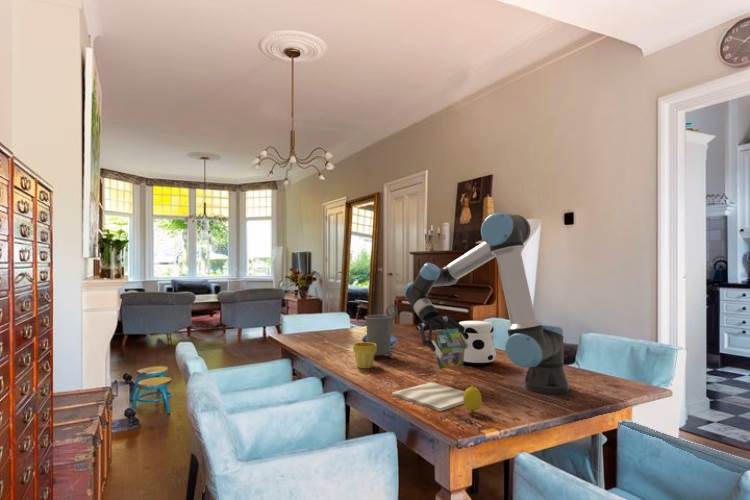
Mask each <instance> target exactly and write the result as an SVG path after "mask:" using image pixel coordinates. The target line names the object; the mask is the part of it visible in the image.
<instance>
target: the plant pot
mask: <svg viewBox="0 0 750 500" xmlns="http://www.w3.org/2000/svg"><path fill="white" fill-rule="evenodd" d="M352 350H353V353H354V356H355V362H356V366H357V368H360V369H371V368H372V367H373V365H374V364H373V363H374V359H375V356H376V355H375V353H376V350H377V345H376V344H375V343H369V342H367V341H366V342H365V341H364V342H355V343H353V345H352Z"/></svg>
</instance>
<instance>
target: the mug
mask: <svg viewBox="0 0 750 500" xmlns="http://www.w3.org/2000/svg"><path fill="white" fill-rule="evenodd" d="M391 307H393V308H394V311H395V312H394V311H392V313H391V314H389V308H391ZM385 313H386V314H369V315H365V316H364V317H363V318H364V320H365V322H366V342H369V343H375V344H376V345H377V350H376V353H375V355H374V356H381V355H382V356H383V355H386V356H389V358H391V359H392V360H394V356H393V353H392V352H391V342H392V341H391V338H392V337H391V330H392V329H391V328H392V324H393V322H394V320H395V318H396V317H397V314H398V307H397V305H396V304H389V305H387V307H386V308H385Z"/></svg>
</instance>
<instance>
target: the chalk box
mask: <svg viewBox="0 0 750 500" xmlns="http://www.w3.org/2000/svg"><path fill="white" fill-rule="evenodd" d="M434 342H435V343H436V345H437V346H438V348H439V349H440V351H441V352H442V358H439V357H438V355H437V354H436V352H435V351H433V352H434V355H435V357H436V361H437V364H438V367H439V369H447V368H456V367H462V366H464V363H463V361H464V352H465V343H464V340H463V338H462V336H461V334H460V331H459V329H458V328H457V329H448V328H447V329H441V330H435V339H434Z"/></svg>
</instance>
